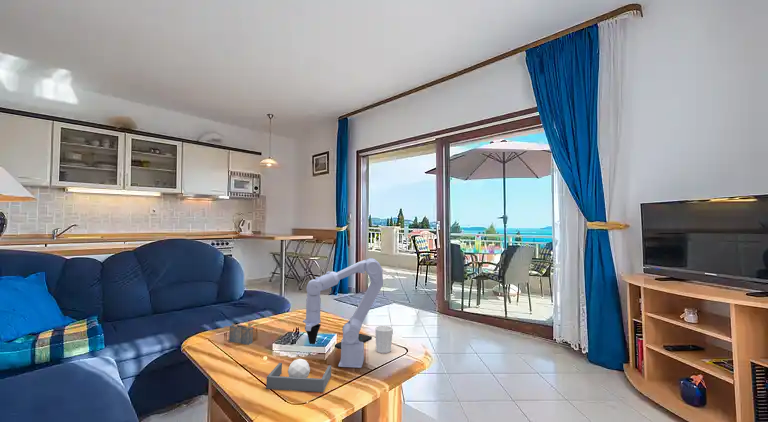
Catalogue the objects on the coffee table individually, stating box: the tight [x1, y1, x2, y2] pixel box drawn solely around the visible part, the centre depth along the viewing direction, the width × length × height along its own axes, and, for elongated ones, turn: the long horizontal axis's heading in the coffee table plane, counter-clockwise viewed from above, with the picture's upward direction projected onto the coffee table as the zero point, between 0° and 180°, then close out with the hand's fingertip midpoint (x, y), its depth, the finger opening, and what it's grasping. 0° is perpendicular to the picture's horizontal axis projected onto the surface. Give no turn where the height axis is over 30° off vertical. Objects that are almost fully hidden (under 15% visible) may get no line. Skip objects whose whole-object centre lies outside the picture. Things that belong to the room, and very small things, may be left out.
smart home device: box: [334, 333, 373, 350], centre depth 161 cm, size 8×2×20 cm
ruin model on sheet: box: [228, 322, 254, 346], centre depth 159 cm, size 11×3×10 cm, turn 71°
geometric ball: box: [287, 358, 311, 378], centre depth 122 cm, size 8×8×8 cm
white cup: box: [374, 325, 394, 354], centre depth 153 cm, size 8×8×10 cm
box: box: [265, 362, 332, 393], centre depth 121 cm, size 20×12×4 cm, turn 86°
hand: (312, 343), depth 136 cm, fingers closed
